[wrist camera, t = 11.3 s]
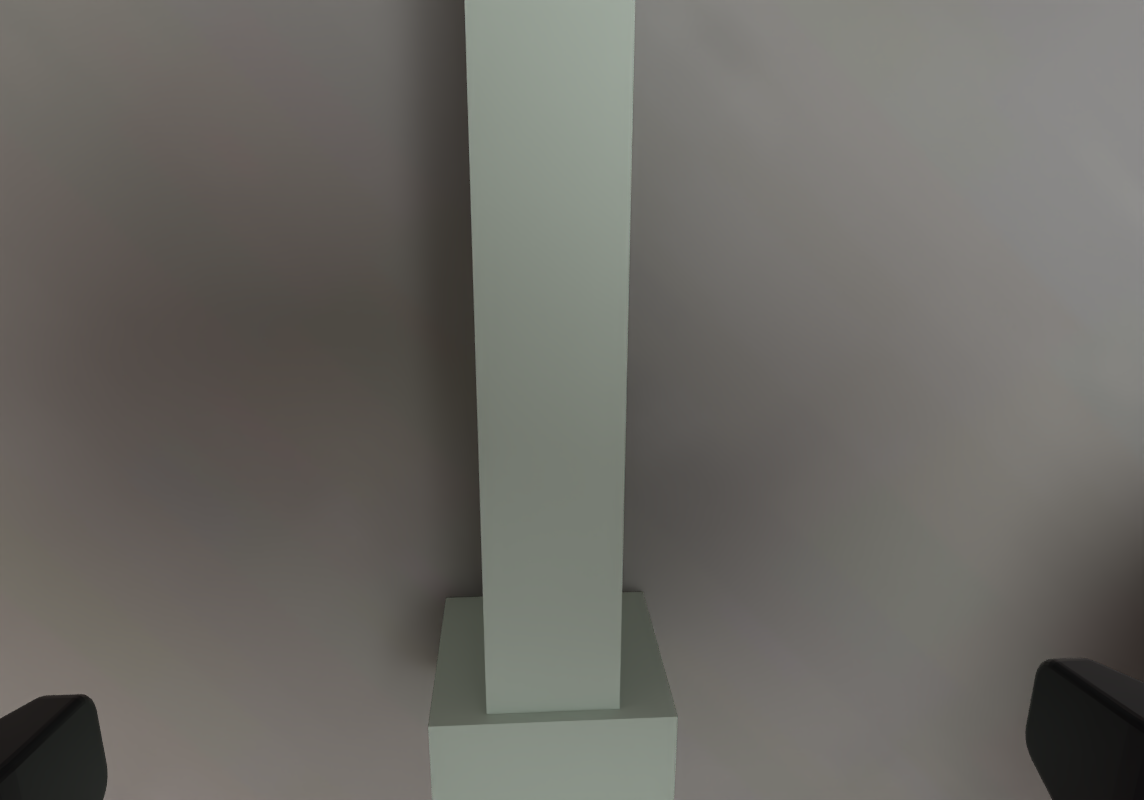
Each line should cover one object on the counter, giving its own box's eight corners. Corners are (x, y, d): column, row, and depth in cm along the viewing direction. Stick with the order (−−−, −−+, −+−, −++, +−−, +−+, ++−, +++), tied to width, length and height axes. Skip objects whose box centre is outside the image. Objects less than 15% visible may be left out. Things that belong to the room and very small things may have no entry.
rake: (929, 651, 23) (1034, 784, 18) (449, 669, 22) (432, 812, 17) (1089, -467, 16) (1322, -706, 11) (396, -499, 15) (345, -770, 11)
